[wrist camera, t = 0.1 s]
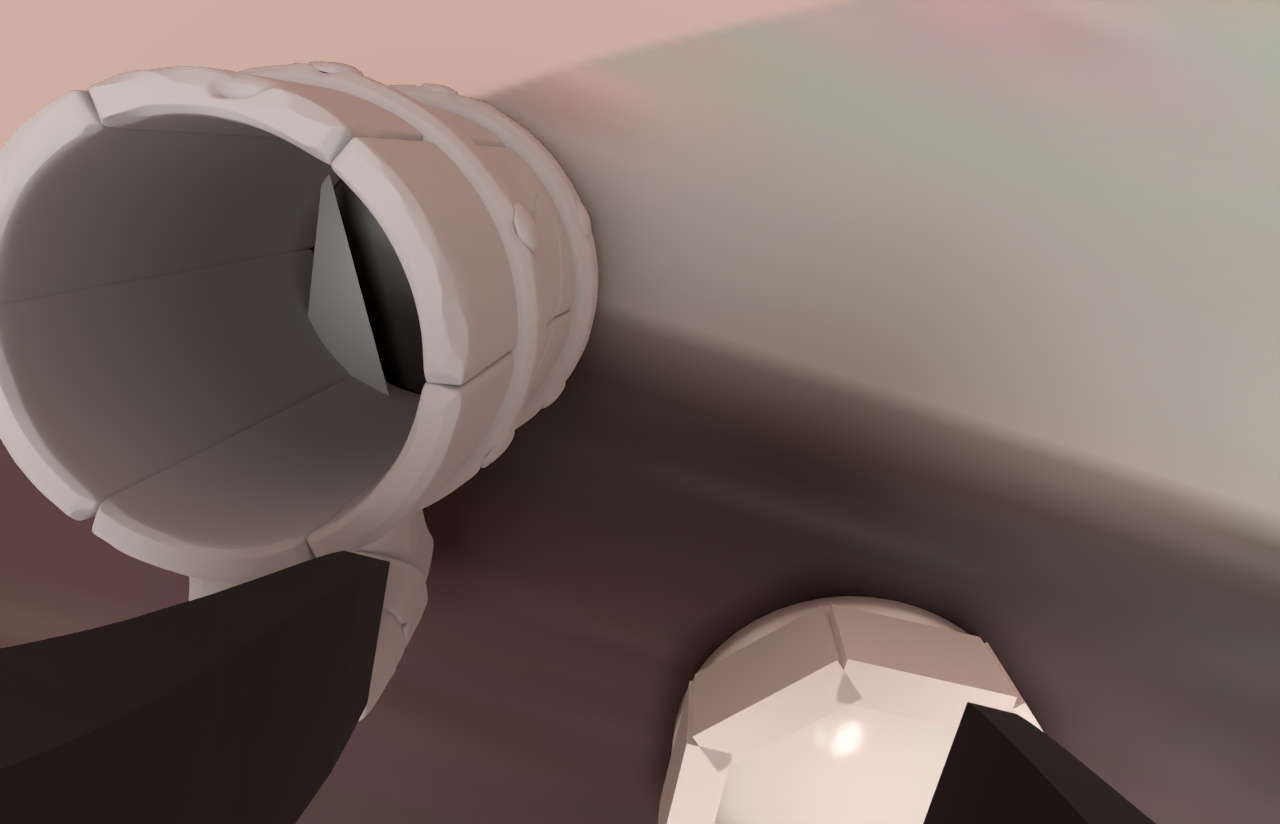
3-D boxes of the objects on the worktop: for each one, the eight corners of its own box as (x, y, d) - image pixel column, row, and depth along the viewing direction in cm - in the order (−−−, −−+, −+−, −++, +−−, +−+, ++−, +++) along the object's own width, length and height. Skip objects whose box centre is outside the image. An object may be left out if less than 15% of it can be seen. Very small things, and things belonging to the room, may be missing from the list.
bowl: (969, 938, 23) (1014, 1067, 20) (640, 862, 23) (628, 974, 20) (1079, 641, 21) (1152, 728, 17) (714, 560, 21) (715, 629, 18)
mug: (621, 111, 19) (497, -16, 7) (575, 603, 22) (437, 1076, 10) (278, 75, 19) (-379, -103, 7) (280, 566, 22) (-184, 984, 10)
